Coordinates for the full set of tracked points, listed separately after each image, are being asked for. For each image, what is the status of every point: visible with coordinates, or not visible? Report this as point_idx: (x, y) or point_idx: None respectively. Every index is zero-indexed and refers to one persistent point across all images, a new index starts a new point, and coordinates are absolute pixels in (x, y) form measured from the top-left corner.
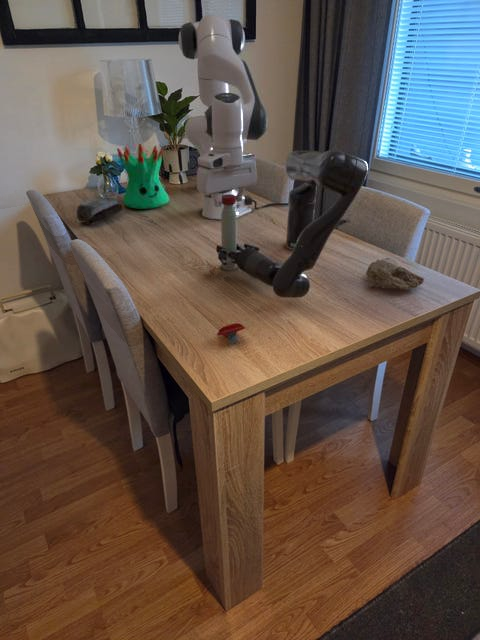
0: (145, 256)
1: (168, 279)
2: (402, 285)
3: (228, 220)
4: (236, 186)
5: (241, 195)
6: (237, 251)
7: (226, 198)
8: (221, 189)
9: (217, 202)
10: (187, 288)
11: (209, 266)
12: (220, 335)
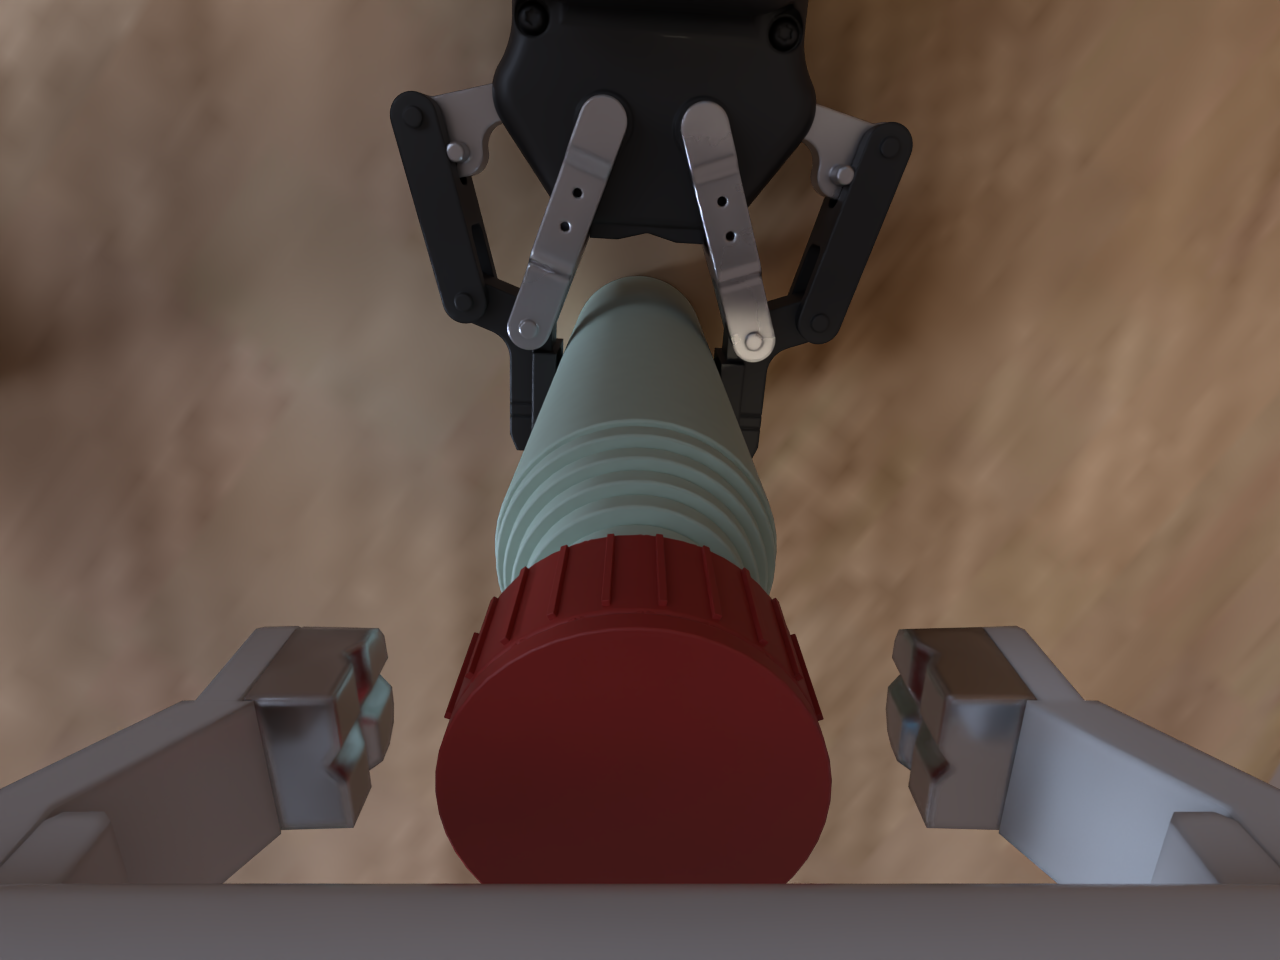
0: (1000, 841)
1: (1153, 449)
2: None
3: (723, 427)
4: (347, 940)
5: (213, 711)
6: (715, 130)
7: (799, 697)
8: (1273, 947)
9: (1066, 683)
10: (1170, 218)
11: (760, 450)
12: None
